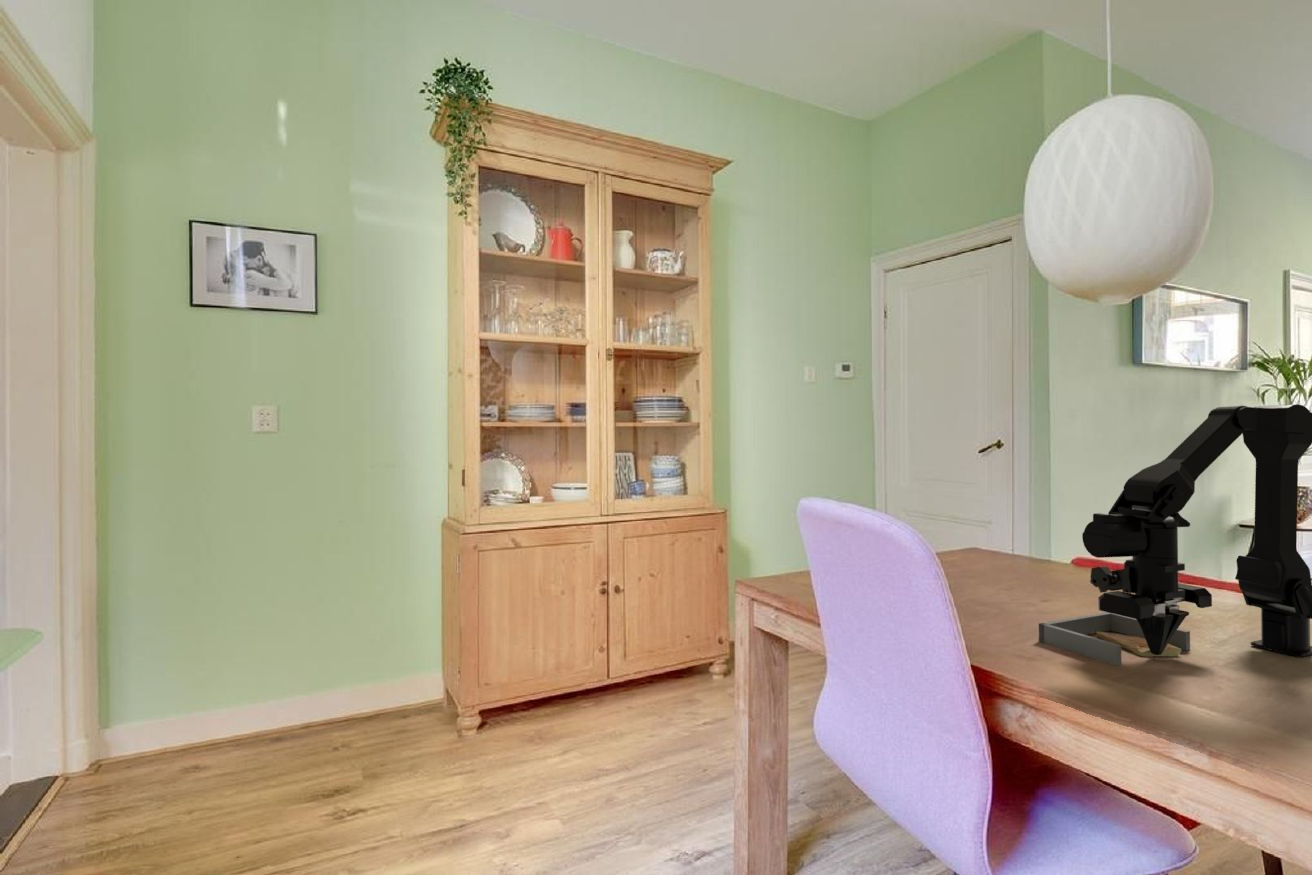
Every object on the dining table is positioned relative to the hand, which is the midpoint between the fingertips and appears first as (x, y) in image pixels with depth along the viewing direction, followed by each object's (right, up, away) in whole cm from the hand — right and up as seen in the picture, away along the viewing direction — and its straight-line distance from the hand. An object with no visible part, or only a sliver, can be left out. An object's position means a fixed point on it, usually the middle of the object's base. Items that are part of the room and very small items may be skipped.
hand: (1156, 654), depth 102 cm
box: (-2, -1, +6) cm, 7 cm away
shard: (0, -1, +5) cm, 5 cm away
